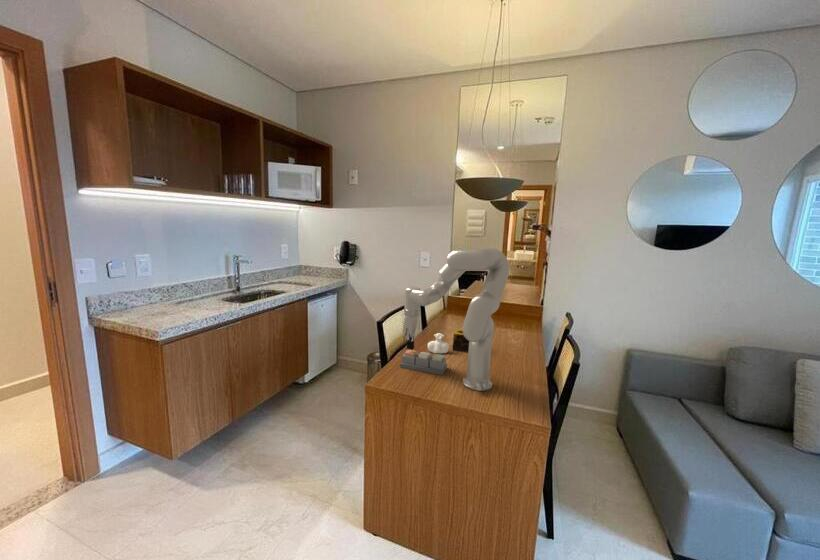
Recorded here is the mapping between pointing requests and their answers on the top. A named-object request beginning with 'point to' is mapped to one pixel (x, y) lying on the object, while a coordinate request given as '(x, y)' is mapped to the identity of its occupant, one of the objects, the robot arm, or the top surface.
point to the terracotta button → (410, 353)
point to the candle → (460, 341)
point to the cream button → (424, 355)
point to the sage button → (438, 358)
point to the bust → (438, 345)
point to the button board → (423, 364)
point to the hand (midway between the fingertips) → (410, 348)
